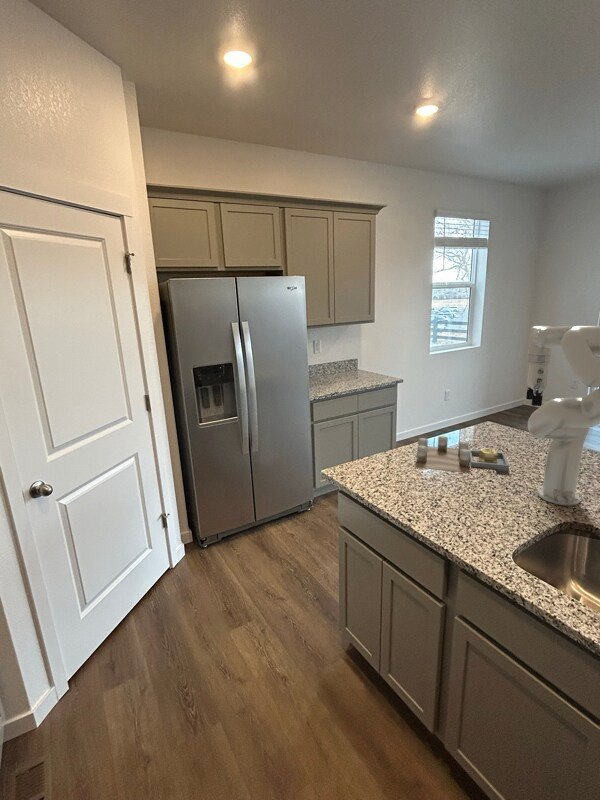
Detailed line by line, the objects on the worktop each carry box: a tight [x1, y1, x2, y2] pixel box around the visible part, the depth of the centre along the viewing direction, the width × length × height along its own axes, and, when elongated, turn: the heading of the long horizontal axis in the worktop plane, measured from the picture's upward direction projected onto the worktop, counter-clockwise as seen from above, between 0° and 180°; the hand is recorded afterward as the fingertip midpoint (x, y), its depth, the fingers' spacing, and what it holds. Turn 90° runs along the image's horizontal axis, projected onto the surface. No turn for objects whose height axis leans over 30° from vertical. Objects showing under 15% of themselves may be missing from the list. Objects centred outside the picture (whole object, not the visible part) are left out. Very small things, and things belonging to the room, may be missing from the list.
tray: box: [468, 449, 510, 473], centre depth 164 cm, size 14×14×3 cm
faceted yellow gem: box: [478, 447, 499, 464], centre depth 164 cm, size 7×6×5 cm
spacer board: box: [416, 435, 471, 474], centre depth 169 cm, size 26×21×7 cm
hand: (533, 402), depth 151 cm, fingers open, 9 cm apart
